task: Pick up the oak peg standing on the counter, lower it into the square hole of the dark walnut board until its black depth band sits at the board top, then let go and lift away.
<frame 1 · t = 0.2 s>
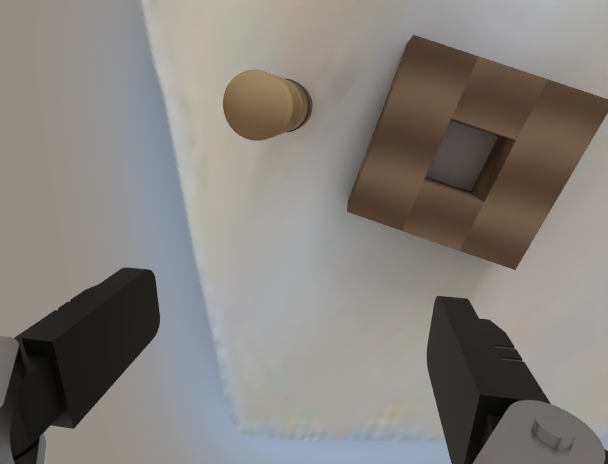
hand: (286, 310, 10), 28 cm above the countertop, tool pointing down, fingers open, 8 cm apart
walnut board: (456, 155, 34), on the countertop
oak peg: (293, 106, 35), on the countertop
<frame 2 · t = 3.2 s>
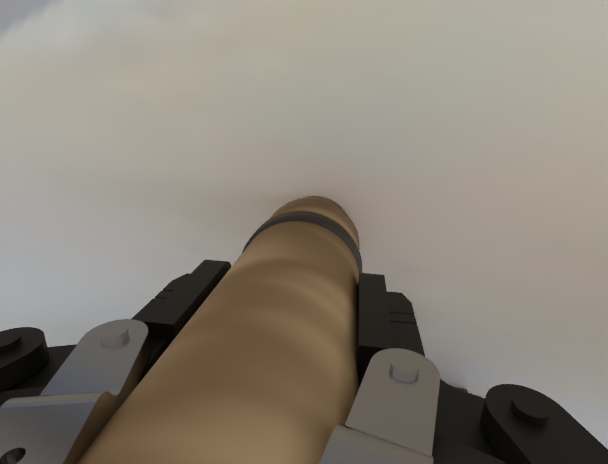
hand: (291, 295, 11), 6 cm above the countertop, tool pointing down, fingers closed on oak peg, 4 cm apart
oak peg: (315, 230, 17), on the countertop, touching gripper
when the fingers open (7 cm above the countertop, at t = 10.2 s): oak peg stays where it is, resting in walnut board.
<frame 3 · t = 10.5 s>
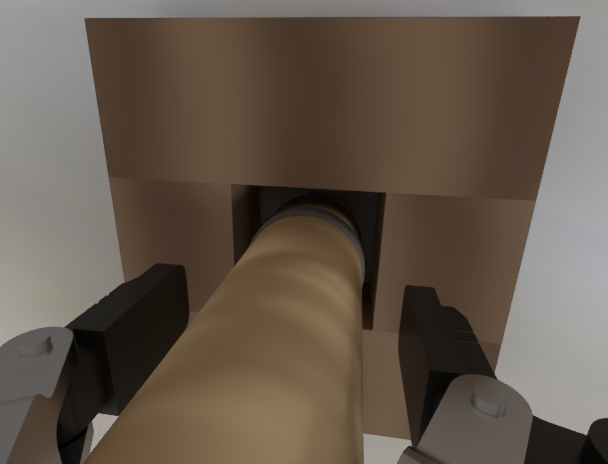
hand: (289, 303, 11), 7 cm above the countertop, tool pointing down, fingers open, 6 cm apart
walnut board: (316, 226, 18), on the countertop
oak peg: (318, 226, 18), resting in walnut board
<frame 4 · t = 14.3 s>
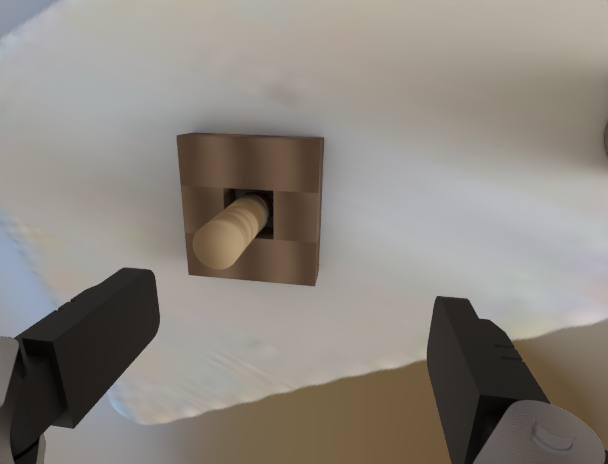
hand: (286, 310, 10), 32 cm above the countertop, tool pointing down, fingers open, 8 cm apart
walnut board: (258, 204, 44), on the countertop
oak peg: (259, 204, 44), resting in walnut board
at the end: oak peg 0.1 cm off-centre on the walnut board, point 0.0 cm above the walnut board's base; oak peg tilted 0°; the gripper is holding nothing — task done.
